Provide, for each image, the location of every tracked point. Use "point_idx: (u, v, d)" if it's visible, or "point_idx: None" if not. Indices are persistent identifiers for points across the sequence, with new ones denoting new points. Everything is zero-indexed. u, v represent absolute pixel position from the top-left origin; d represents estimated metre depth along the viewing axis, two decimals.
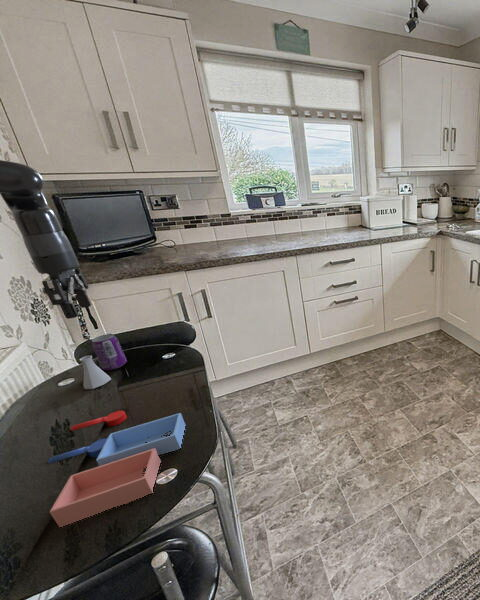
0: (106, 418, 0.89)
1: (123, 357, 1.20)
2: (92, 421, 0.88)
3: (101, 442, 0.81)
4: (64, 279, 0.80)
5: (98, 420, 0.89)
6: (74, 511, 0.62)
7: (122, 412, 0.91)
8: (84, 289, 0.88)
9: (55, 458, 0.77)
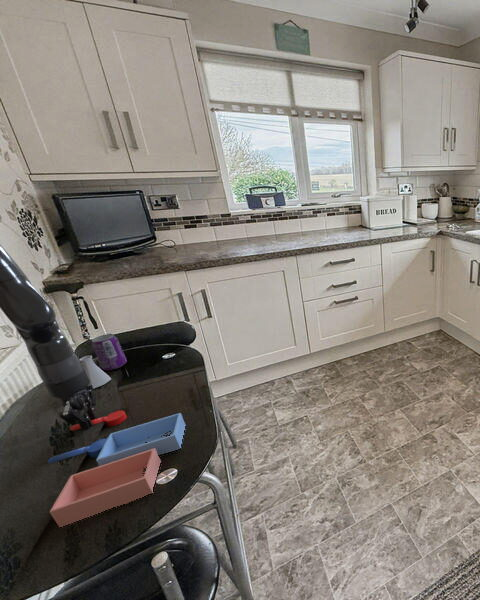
0: (106, 418, 0.89)
1: (123, 357, 1.20)
2: (92, 421, 0.88)
3: (101, 442, 0.81)
4: (75, 400, 0.83)
5: (98, 420, 0.89)
6: (74, 511, 0.62)
7: (122, 412, 0.91)
8: (91, 409, 0.89)
9: (55, 458, 0.77)
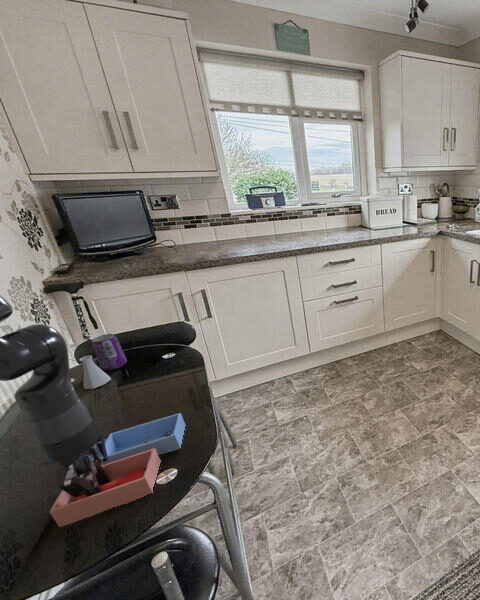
0: (122, 481, 0.68)
1: (123, 357, 1.20)
2: (104, 486, 0.67)
3: None
4: (81, 462, 0.62)
5: (112, 484, 0.68)
6: (74, 511, 0.62)
7: (142, 472, 0.70)
8: (103, 466, 0.68)
9: None
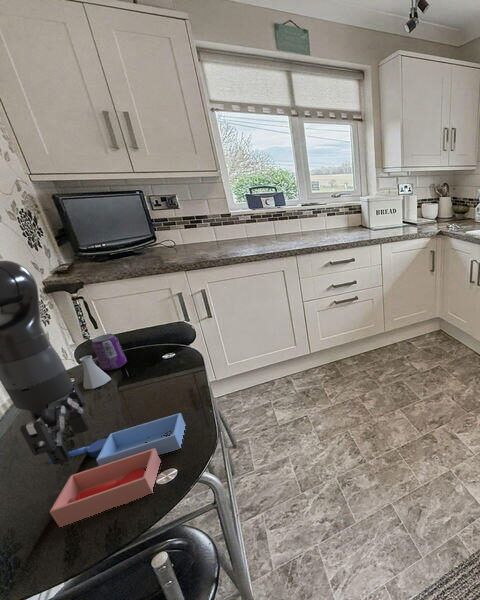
0: (122, 481, 0.68)
1: (123, 357, 1.20)
2: (104, 486, 0.67)
3: (101, 442, 0.81)
4: (52, 412, 0.58)
5: (112, 484, 0.68)
6: (74, 511, 0.62)
7: (142, 472, 0.70)
8: (80, 410, 0.66)
9: None
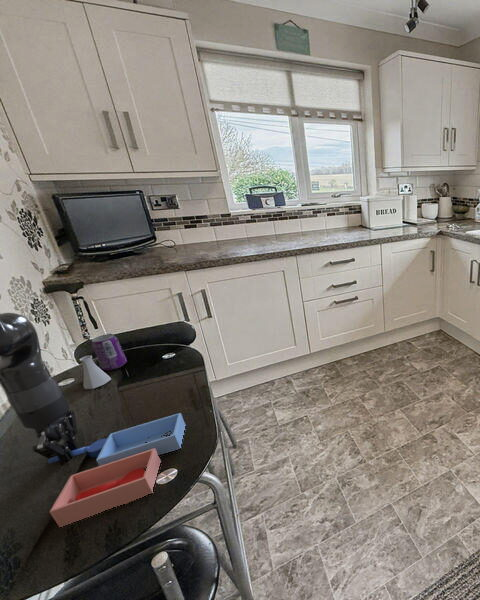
0: (122, 481, 0.68)
1: (123, 357, 1.20)
2: (104, 486, 0.67)
3: (101, 442, 0.81)
4: (52, 430, 0.73)
5: (112, 484, 0.68)
6: (74, 511, 0.62)
7: (142, 472, 0.70)
8: (72, 437, 0.78)
9: (55, 458, 0.77)
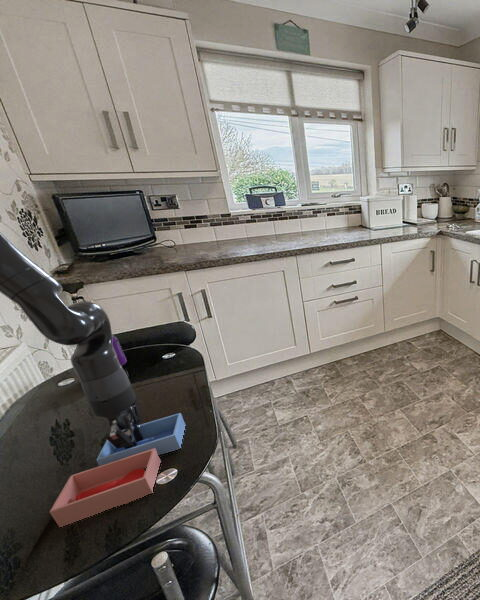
0: (122, 481, 0.68)
1: (123, 357, 1.20)
2: (104, 486, 0.67)
3: (165, 433, 0.81)
4: (122, 418, 0.73)
5: (112, 484, 0.68)
6: (74, 511, 0.62)
7: (142, 472, 0.70)
8: (137, 426, 0.79)
9: (122, 449, 0.77)
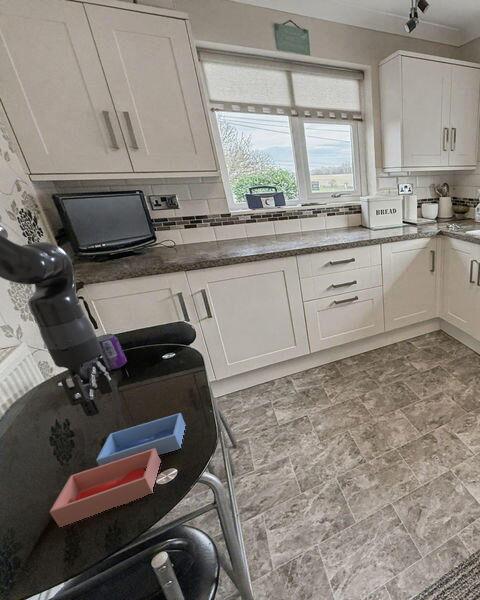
0: (122, 481, 0.68)
1: (123, 357, 1.20)
2: (104, 486, 0.67)
3: (165, 433, 0.81)
4: (85, 371, 0.69)
5: (112, 484, 0.68)
6: (74, 511, 0.62)
7: (142, 472, 0.70)
8: (106, 373, 0.76)
9: (122, 449, 0.77)
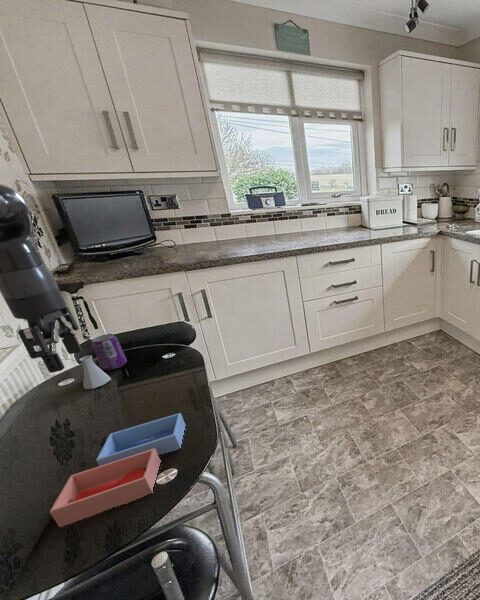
0: (122, 481, 0.68)
1: (123, 357, 1.20)
2: (104, 486, 0.67)
3: (165, 433, 0.81)
4: (47, 324, 0.65)
5: (112, 484, 0.68)
6: (74, 511, 0.62)
7: (142, 472, 0.70)
8: (73, 332, 0.72)
9: (122, 449, 0.77)
